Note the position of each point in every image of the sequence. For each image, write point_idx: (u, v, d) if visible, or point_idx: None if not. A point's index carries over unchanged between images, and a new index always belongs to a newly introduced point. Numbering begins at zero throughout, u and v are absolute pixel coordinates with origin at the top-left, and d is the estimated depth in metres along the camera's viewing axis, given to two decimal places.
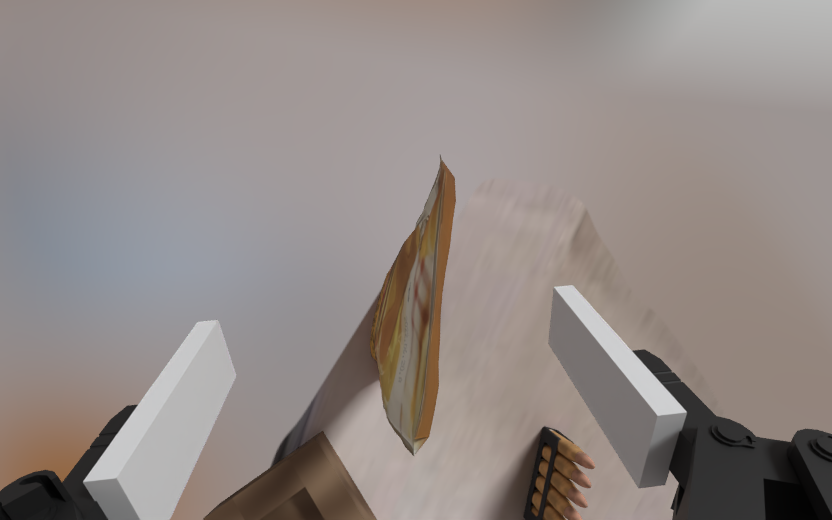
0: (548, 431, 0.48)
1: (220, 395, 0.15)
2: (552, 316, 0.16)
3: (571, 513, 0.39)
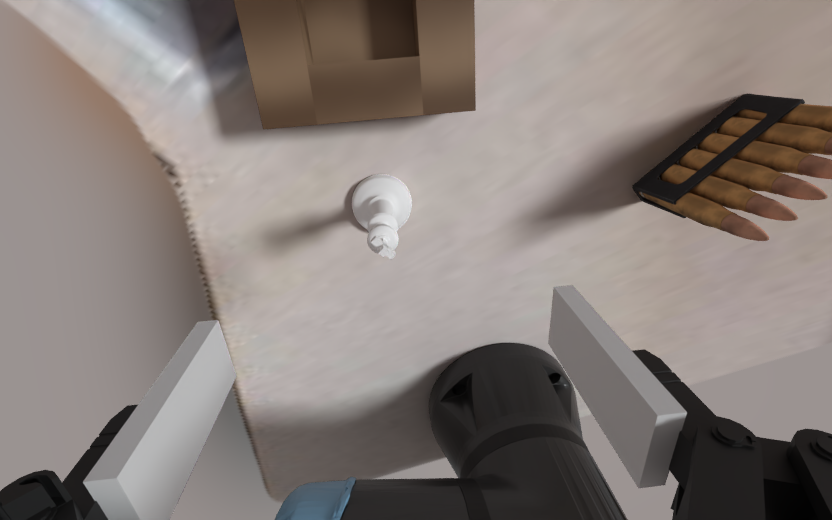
0: (764, 96, 0.30)
1: (220, 396, 0.15)
2: (552, 316, 0.16)
3: (800, 181, 0.24)
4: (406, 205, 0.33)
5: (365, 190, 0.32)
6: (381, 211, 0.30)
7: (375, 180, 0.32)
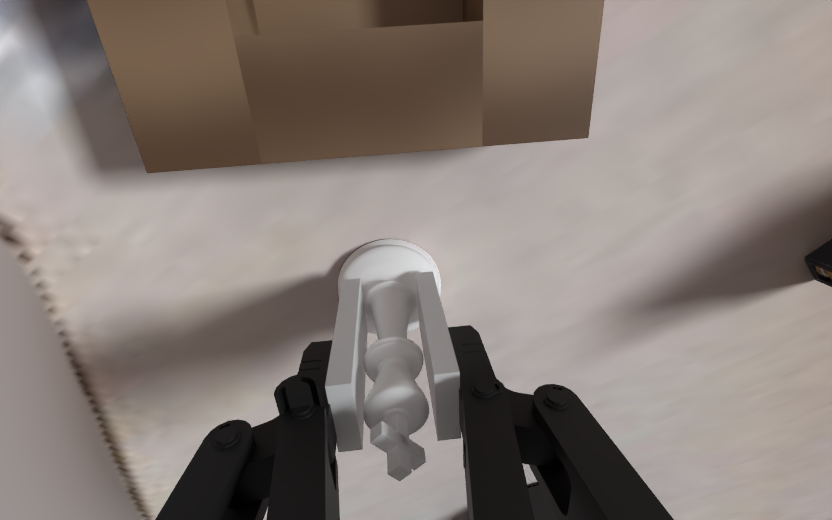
0: None
1: (365, 342, 0.17)
2: (418, 300, 0.18)
3: None
4: None
5: (362, 270, 0.18)
6: (390, 320, 0.16)
7: (379, 252, 0.18)
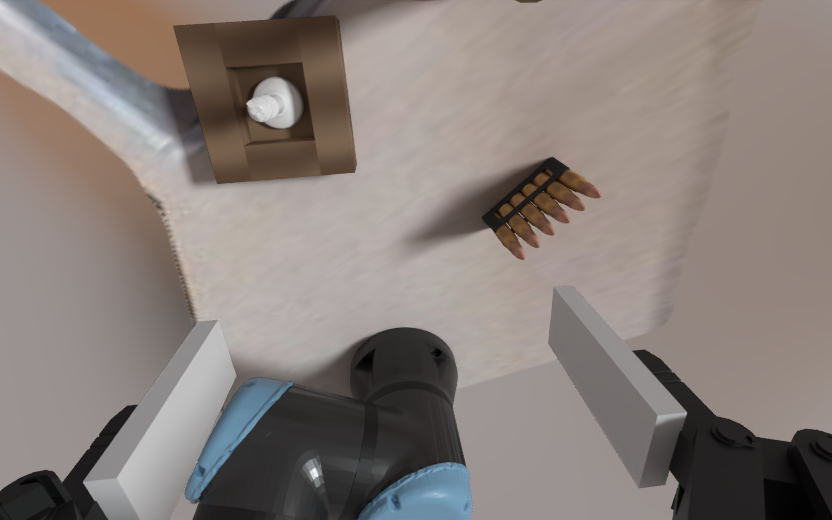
0: (557, 161, 0.45)
1: (220, 395, 0.15)
2: (552, 316, 0.16)
3: (547, 223, 0.39)
4: (297, 106, 0.41)
5: (264, 86, 0.39)
6: None
7: (273, 79, 0.39)
